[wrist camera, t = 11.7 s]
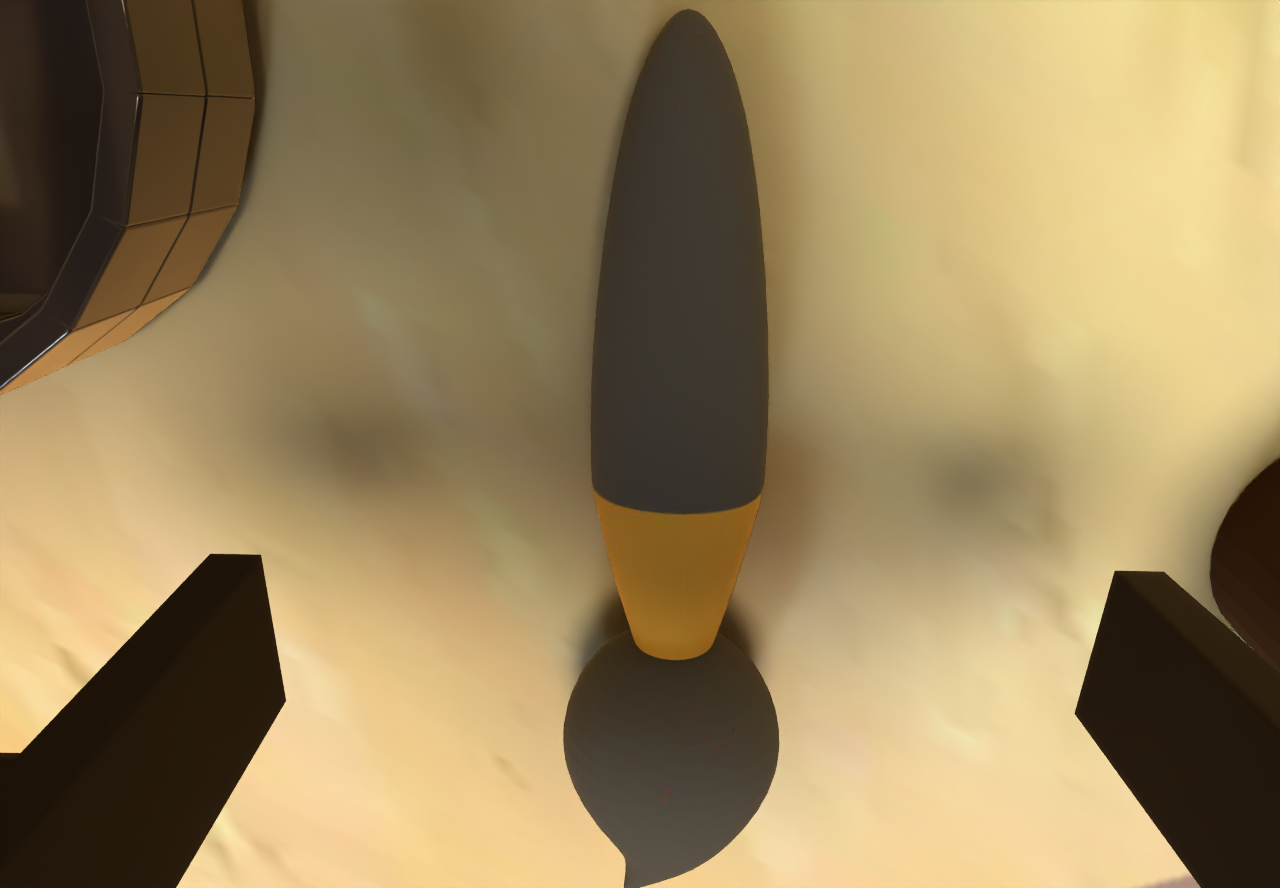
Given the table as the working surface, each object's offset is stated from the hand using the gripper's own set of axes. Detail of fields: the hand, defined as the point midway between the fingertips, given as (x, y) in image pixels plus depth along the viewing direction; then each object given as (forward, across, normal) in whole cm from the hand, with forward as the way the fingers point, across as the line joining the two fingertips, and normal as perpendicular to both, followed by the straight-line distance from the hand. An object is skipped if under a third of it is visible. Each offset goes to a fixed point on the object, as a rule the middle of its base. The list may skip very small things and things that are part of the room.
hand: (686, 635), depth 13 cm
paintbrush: (+7, 0, -1) cm, 7 cm away
